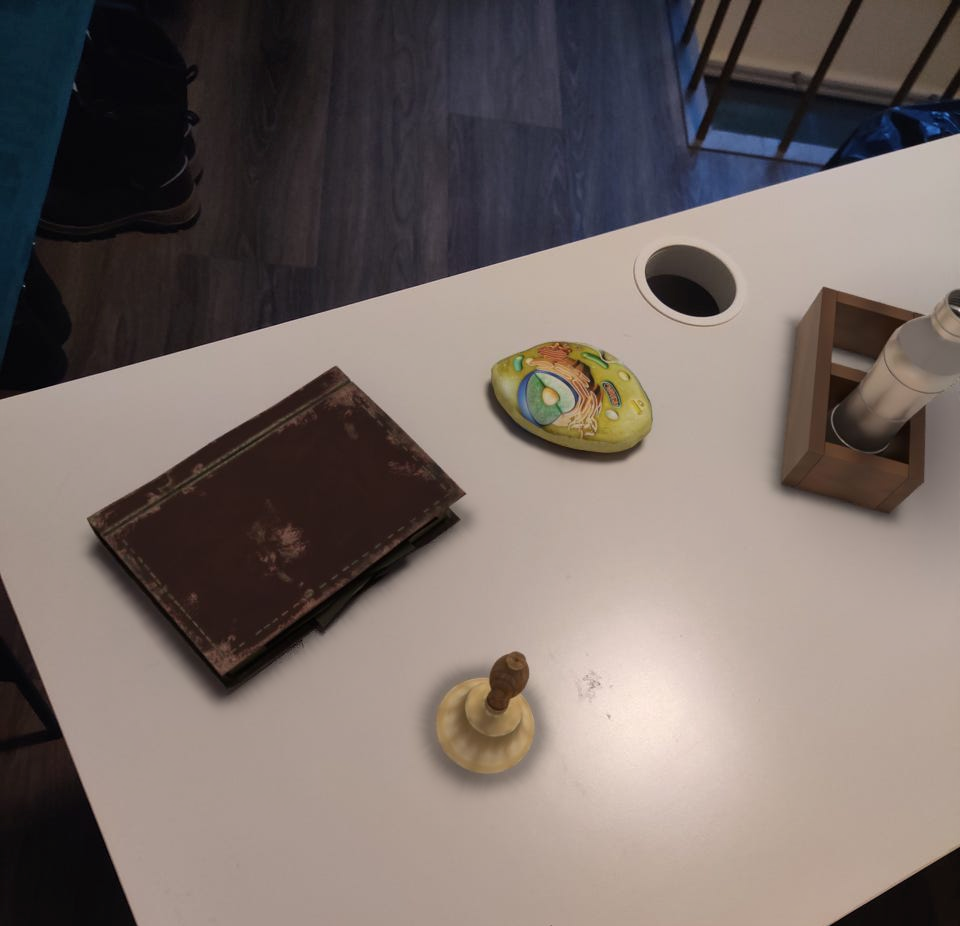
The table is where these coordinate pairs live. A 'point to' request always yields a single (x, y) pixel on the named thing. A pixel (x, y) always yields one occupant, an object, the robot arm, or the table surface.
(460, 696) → the hand bell
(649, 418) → the cell model
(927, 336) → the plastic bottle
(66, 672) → the table surface
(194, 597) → the diary
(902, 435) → the shelf
